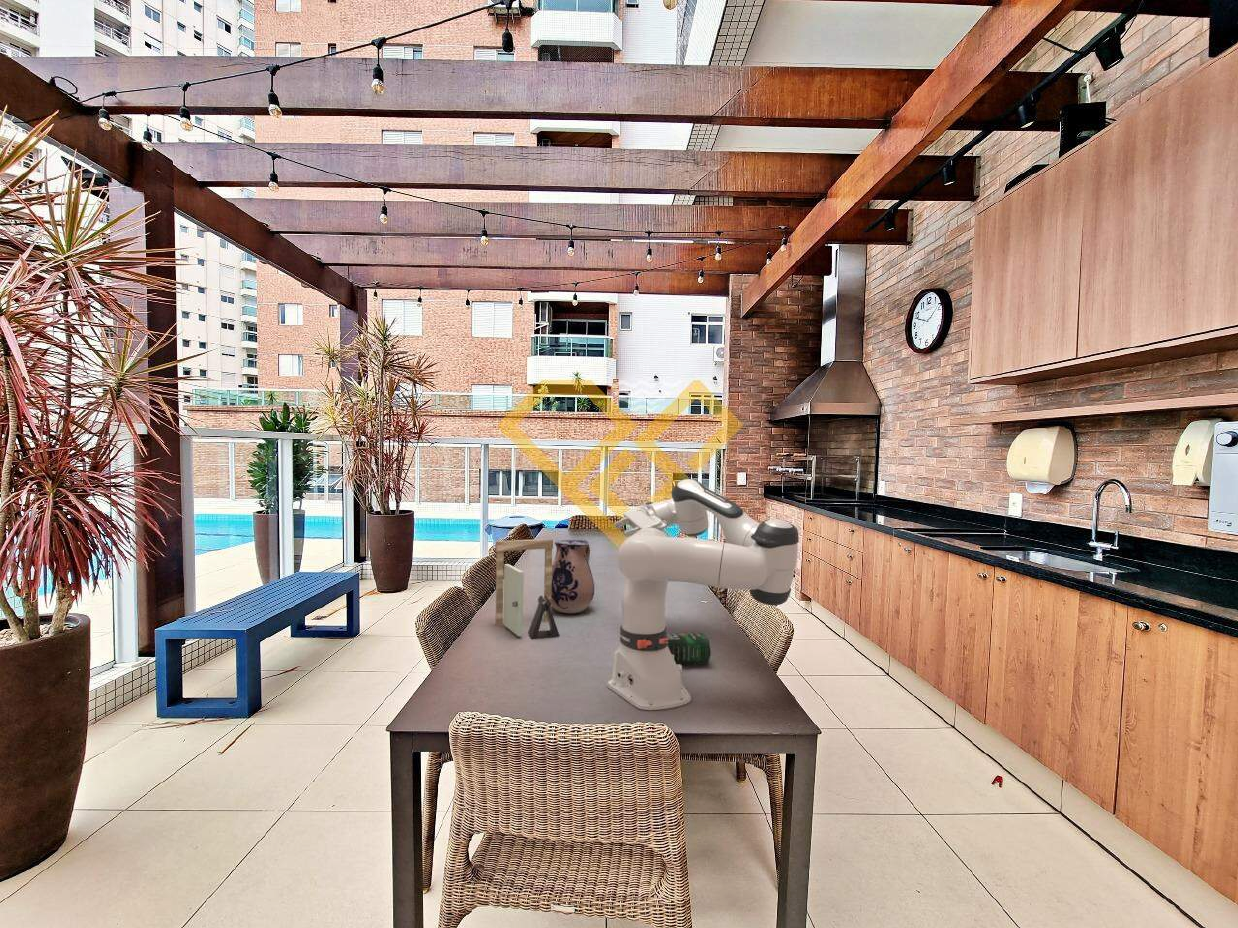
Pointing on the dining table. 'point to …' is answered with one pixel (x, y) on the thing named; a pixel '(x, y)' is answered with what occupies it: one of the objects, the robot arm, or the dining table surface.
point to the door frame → (500, 549)
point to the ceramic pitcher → (571, 577)
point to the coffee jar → (689, 648)
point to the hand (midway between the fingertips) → (619, 530)
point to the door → (513, 599)
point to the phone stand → (537, 620)
